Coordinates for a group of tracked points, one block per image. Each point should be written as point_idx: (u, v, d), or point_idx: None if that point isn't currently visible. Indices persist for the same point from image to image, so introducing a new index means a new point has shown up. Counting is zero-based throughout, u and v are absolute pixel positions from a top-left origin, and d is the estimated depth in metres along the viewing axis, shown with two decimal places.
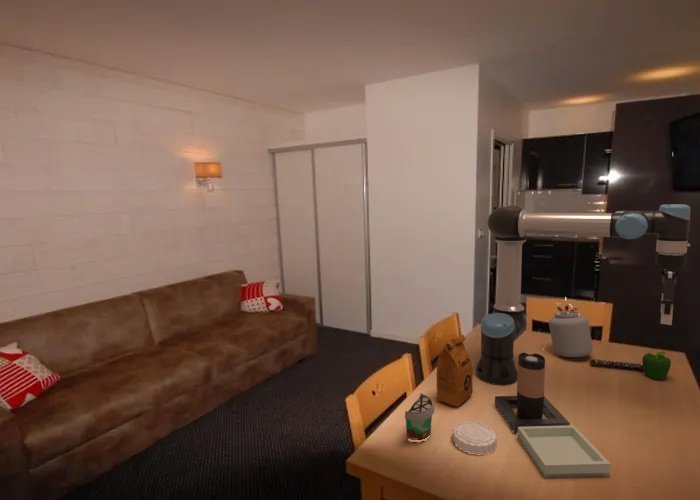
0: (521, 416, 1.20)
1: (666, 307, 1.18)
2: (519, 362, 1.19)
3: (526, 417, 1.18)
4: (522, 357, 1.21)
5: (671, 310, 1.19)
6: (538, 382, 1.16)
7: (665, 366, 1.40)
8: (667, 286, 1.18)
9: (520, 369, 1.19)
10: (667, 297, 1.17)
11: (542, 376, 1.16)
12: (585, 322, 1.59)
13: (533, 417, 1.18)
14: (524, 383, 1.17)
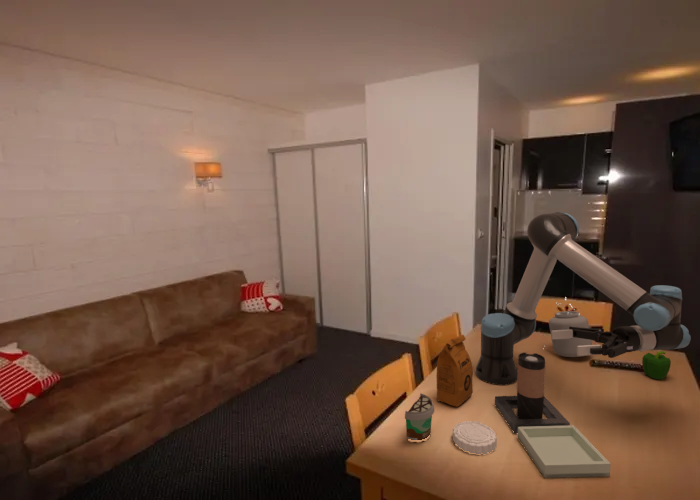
0: (521, 416, 1.20)
1: (600, 350, 1.10)
2: (519, 362, 1.19)
3: (526, 417, 1.18)
4: (522, 357, 1.21)
5: None
6: (538, 382, 1.16)
7: (665, 366, 1.40)
8: (622, 348, 1.11)
9: (520, 369, 1.19)
10: (615, 351, 1.09)
11: (542, 376, 1.16)
12: (585, 322, 1.59)
13: (533, 417, 1.18)
14: (524, 383, 1.17)
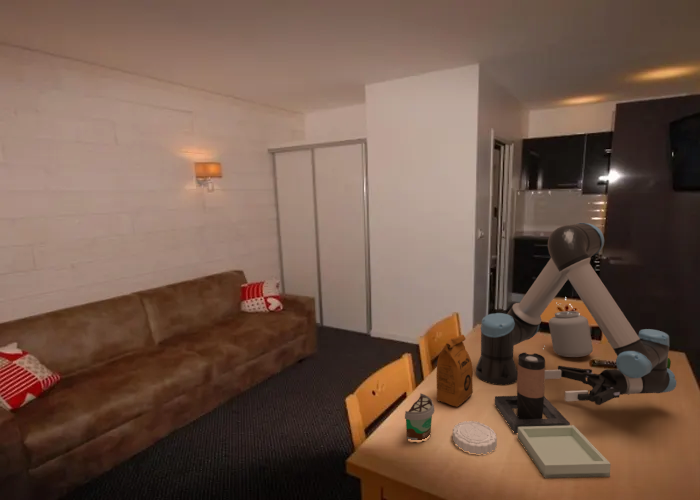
0: (521, 416, 1.20)
1: (587, 397, 1.11)
2: (519, 362, 1.19)
3: (526, 417, 1.18)
4: (522, 357, 1.21)
5: None
6: (538, 382, 1.16)
7: None
8: (609, 395, 1.12)
9: (520, 369, 1.19)
10: (602, 398, 1.10)
11: (542, 376, 1.16)
12: (585, 322, 1.59)
13: (533, 417, 1.18)
14: (524, 383, 1.17)
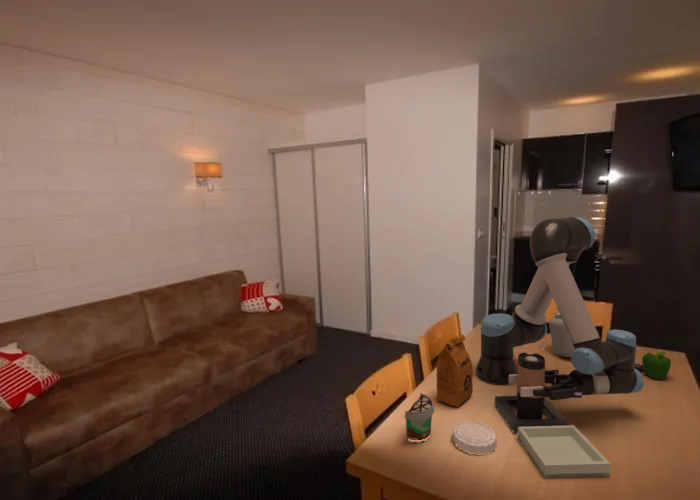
0: (521, 416, 1.20)
1: (542, 392, 1.14)
2: (519, 362, 1.19)
3: (526, 417, 1.18)
4: (522, 357, 1.21)
5: None
6: (538, 382, 1.16)
7: (665, 366, 1.40)
8: (566, 393, 1.13)
9: (520, 369, 1.19)
10: (556, 395, 1.13)
11: (542, 376, 1.16)
12: None
13: (533, 417, 1.18)
14: (524, 383, 1.17)
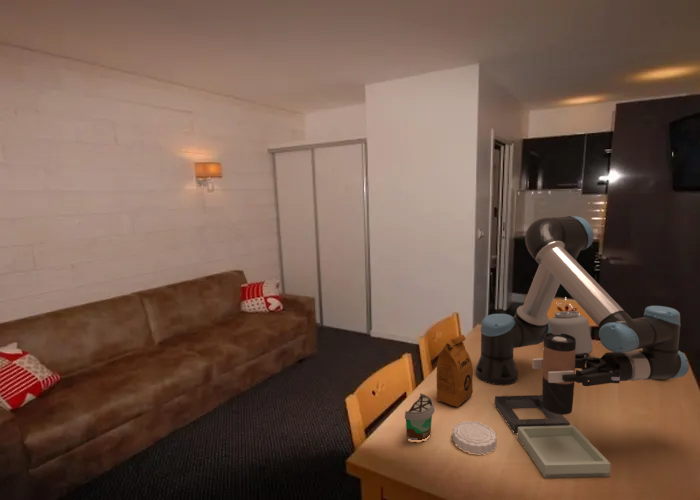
0: (548, 405, 1.04)
1: (573, 377, 0.99)
2: (545, 343, 1.03)
3: (554, 407, 1.03)
4: (548, 338, 1.05)
5: None
6: (568, 366, 1.00)
7: None
8: (602, 378, 0.98)
9: (546, 351, 1.03)
10: (590, 380, 0.97)
11: (573, 359, 1.01)
12: (585, 322, 1.59)
13: (562, 406, 1.02)
14: (552, 367, 1.02)
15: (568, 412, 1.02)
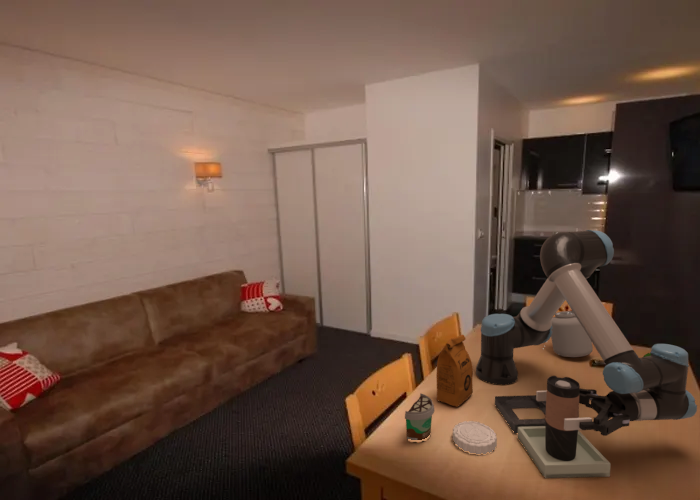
0: (551, 450, 1.02)
1: (591, 426, 0.94)
2: (548, 388, 1.01)
3: (557, 453, 1.01)
4: (551, 381, 1.03)
5: None
6: (572, 413, 0.98)
7: None
8: (617, 423, 0.94)
9: (549, 396, 1.01)
10: (609, 428, 0.92)
11: (577, 405, 0.98)
12: None
13: (566, 453, 1.00)
14: (555, 413, 0.99)
15: (571, 458, 1.00)
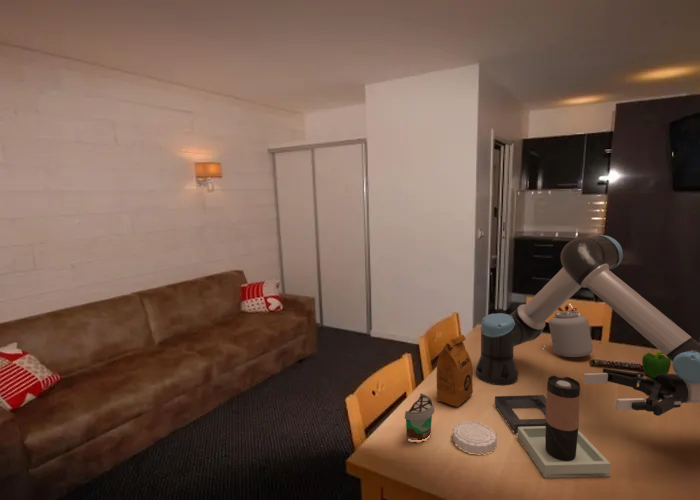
0: (551, 450, 1.02)
1: (644, 406, 0.96)
2: (549, 388, 1.01)
3: (557, 453, 1.01)
4: (552, 381, 1.03)
5: None
6: (572, 413, 0.98)
7: (665, 366, 1.40)
8: (669, 404, 0.96)
9: (550, 396, 1.01)
10: (662, 408, 0.94)
11: (577, 405, 0.98)
12: (585, 322, 1.59)
13: (566, 453, 1.00)
14: (555, 412, 0.99)
15: (571, 458, 1.00)
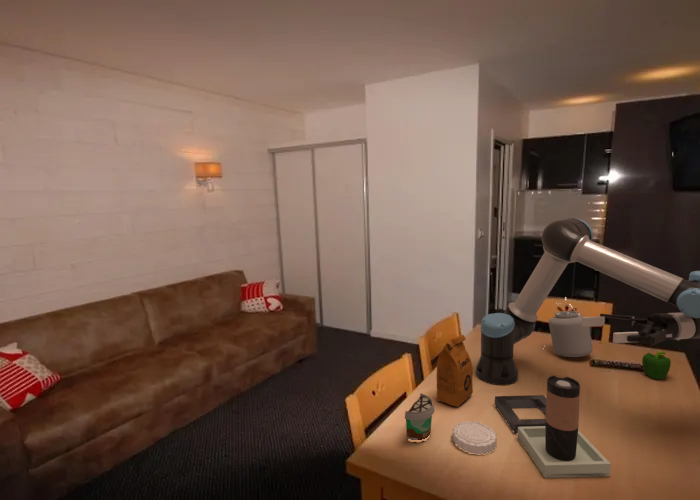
0: (551, 450, 1.02)
1: (638, 338, 1.04)
2: (549, 388, 1.01)
3: (557, 453, 1.01)
4: (552, 381, 1.03)
5: None
6: (572, 413, 0.98)
7: (665, 366, 1.40)
8: (661, 336, 1.04)
9: (550, 396, 1.01)
10: (655, 339, 1.03)
11: (577, 405, 0.98)
12: None
13: (566, 453, 1.00)
14: (555, 412, 0.99)
15: (571, 458, 1.00)
